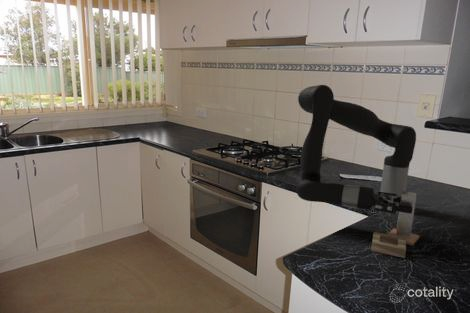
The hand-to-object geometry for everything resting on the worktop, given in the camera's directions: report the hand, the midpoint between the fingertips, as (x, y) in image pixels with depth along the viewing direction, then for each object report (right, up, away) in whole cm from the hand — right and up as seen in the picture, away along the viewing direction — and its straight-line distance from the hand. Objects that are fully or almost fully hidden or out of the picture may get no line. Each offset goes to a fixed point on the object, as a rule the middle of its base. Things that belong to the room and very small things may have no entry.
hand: (411, 205), depth 111 cm
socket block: (-10, -12, -5) cm, 16 cm away
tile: (-2, -11, +3) cm, 11 cm away
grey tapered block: (-2, -10, +3) cm, 10 cm away
